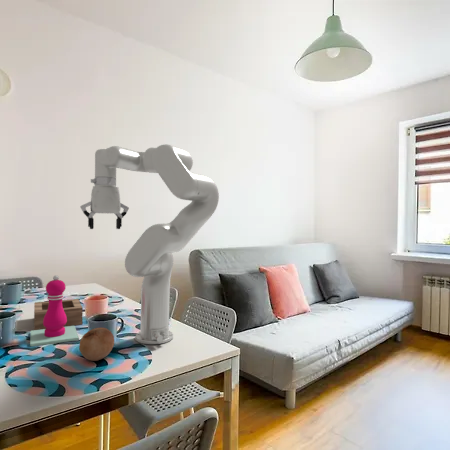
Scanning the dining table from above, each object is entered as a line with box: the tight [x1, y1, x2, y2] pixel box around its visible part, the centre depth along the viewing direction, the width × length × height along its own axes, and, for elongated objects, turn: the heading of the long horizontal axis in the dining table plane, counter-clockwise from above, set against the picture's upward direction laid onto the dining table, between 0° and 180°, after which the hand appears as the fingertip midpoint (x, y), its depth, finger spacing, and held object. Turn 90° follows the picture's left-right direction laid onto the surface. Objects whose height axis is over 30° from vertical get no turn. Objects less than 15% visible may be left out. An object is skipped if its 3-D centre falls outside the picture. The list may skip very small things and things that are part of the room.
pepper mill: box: [43, 275, 67, 337], centre depth 115 cm, size 7×7×20 cm
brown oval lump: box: [78, 326, 115, 362], centre depth 98 cm, size 10×9×10 cm
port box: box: [33, 298, 84, 330], centre depth 131 cm, size 16×16×6 cm
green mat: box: [29, 325, 80, 348], centre depth 115 cm, size 14×14×1 cm
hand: (105, 228), depth 126 cm, fingers open, 9 cm apart
